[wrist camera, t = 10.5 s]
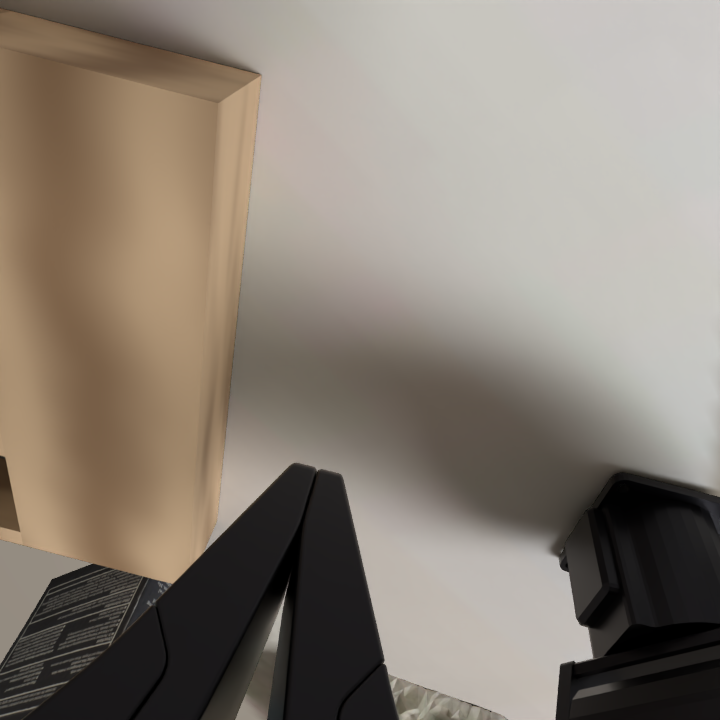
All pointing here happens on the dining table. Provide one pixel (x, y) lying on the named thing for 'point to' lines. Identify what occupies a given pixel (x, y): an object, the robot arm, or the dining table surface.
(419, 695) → the ceramic cottage
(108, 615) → the small box
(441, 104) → the dining table surface
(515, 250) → the dining table surface
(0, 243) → the trap board
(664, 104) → the dining table surface
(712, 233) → the dining table surface
